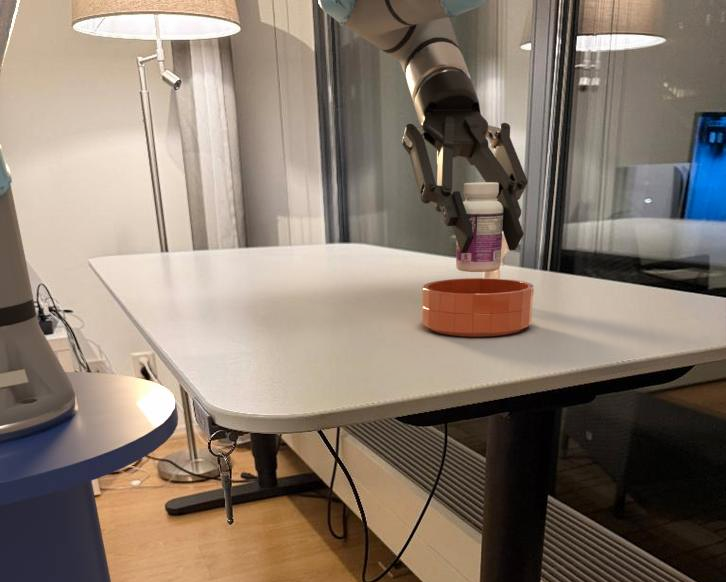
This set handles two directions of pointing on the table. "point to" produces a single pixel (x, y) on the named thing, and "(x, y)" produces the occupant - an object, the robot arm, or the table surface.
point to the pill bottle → (482, 228)
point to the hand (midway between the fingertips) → (492, 243)
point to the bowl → (477, 306)
